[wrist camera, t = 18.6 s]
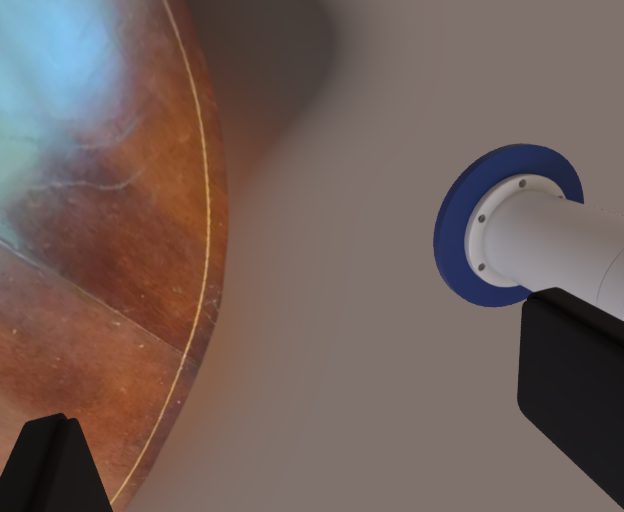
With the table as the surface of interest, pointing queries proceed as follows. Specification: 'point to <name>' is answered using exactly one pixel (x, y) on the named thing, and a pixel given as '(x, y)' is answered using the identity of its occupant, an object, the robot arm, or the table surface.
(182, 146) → the table surface
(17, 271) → the table surface
